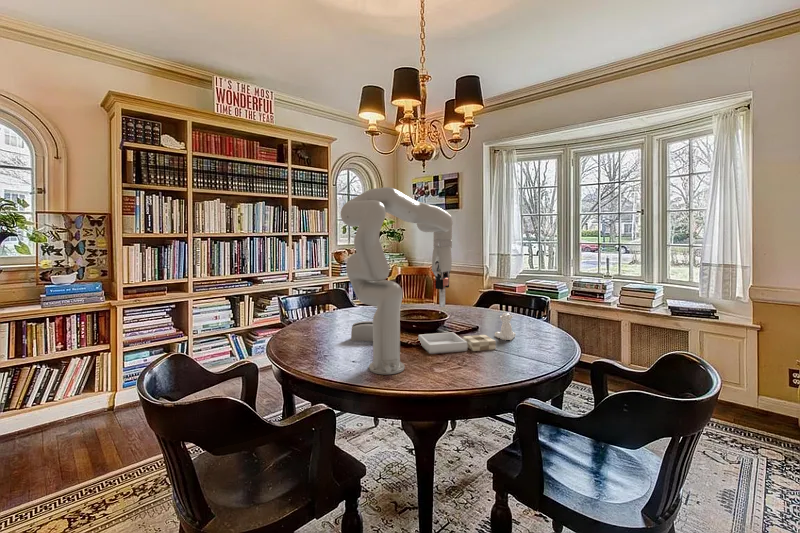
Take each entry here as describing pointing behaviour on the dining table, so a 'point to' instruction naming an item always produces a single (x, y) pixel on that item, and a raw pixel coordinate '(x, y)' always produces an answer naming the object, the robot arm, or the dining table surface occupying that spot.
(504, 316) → the white creature statuette
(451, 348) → the tray
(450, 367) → the dining table surface
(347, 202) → the robot arm
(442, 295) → the handwheel pin
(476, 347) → the block
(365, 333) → the grey arched block
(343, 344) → the dining table surface
